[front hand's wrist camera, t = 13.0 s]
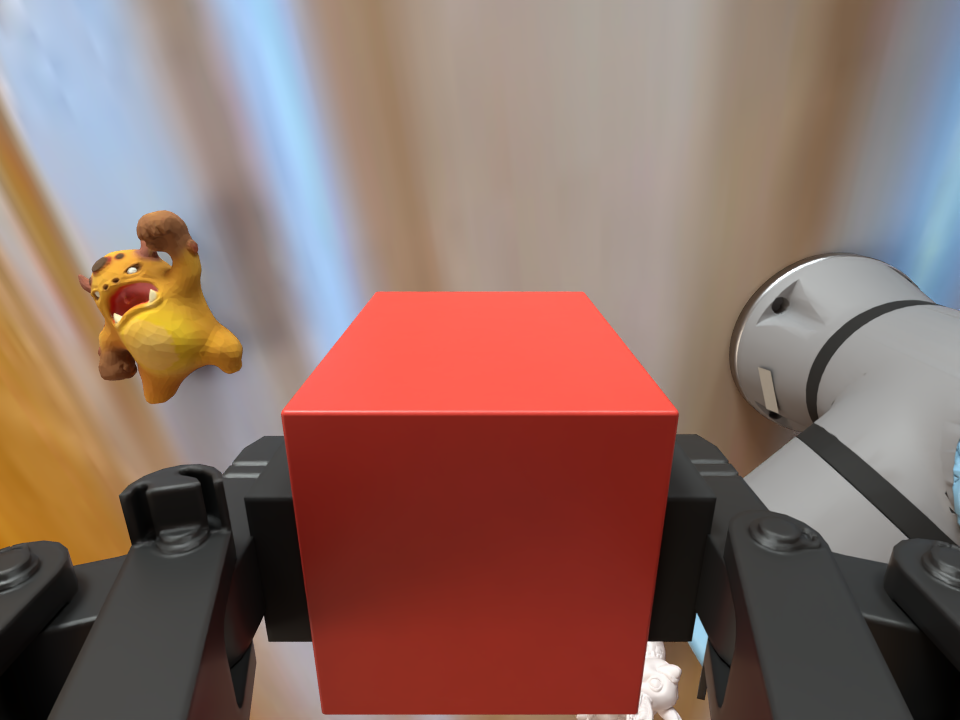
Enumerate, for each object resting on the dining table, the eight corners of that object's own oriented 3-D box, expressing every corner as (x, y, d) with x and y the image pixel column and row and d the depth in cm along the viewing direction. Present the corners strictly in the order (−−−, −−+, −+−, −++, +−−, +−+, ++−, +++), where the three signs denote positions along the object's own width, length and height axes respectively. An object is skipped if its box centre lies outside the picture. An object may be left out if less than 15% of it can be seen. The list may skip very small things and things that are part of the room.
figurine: (680, 610, 57) (733, 729, 45) (616, 707, 61) (649, 839, 50) (610, 587, 56) (645, 703, 44) (550, 688, 60) (568, 817, 49)
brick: (375, 291, 14) (278, 411, 7) (584, 291, 14) (681, 411, 7) (388, 482, 16) (320, 716, 9) (571, 482, 16) (639, 716, 9)
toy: (103, 409, 45) (31, 224, 40) (168, 377, 51) (113, 211, 45) (204, 421, 41) (140, 217, 36) (263, 385, 47) (215, 204, 41)
